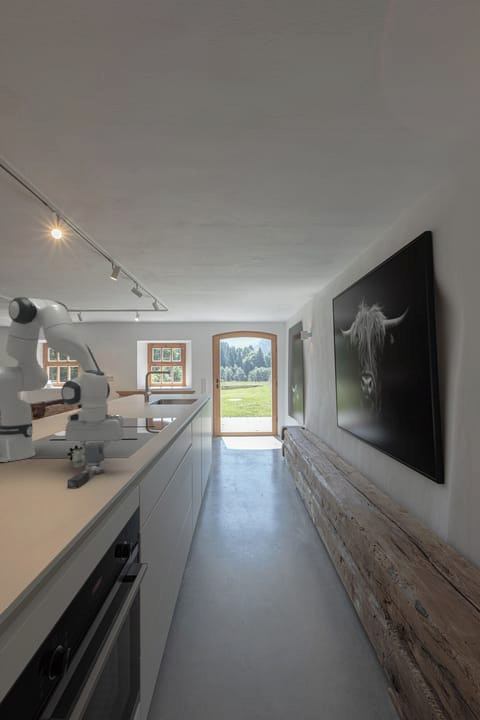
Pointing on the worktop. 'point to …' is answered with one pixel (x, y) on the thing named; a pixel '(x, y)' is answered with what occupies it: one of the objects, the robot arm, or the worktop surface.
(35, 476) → the worktop surface
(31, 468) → the worktop surface
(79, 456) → the valve
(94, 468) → the ratchet
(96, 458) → the plain grey cube
